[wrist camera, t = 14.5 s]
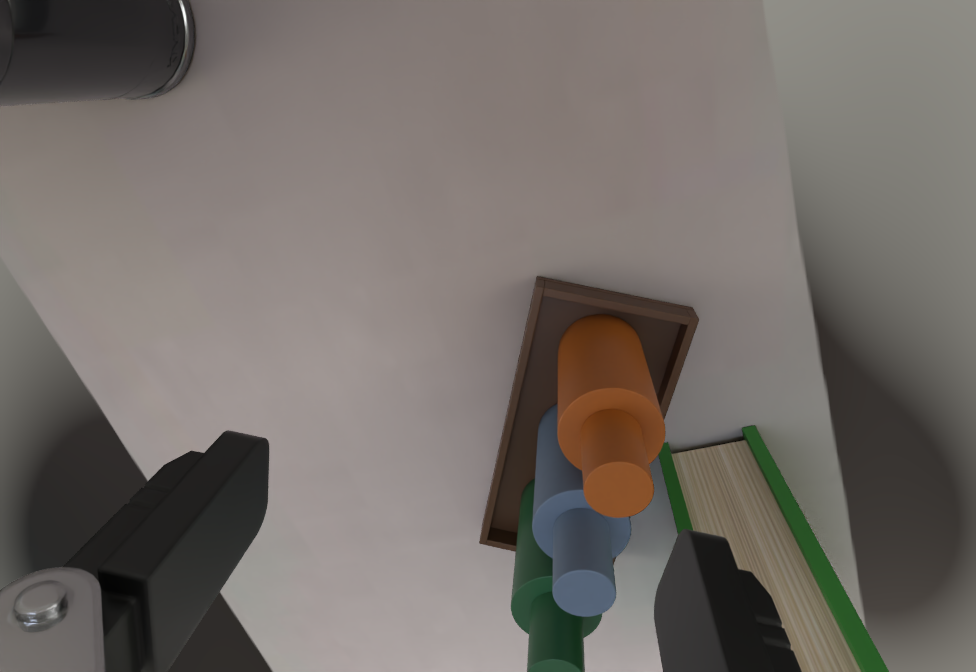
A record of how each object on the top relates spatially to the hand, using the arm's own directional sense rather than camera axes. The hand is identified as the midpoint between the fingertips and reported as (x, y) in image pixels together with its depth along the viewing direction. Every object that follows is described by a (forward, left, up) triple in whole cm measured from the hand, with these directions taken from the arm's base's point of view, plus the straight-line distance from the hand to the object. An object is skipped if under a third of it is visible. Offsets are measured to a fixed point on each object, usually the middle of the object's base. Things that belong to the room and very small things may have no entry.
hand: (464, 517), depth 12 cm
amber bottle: (+7, -10, -32) cm, 34 cm away
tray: (+7, -17, -32) cm, 37 cm away
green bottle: (+7, -24, -32) cm, 40 cm away
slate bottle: (+7, -17, -32) cm, 36 cm away
